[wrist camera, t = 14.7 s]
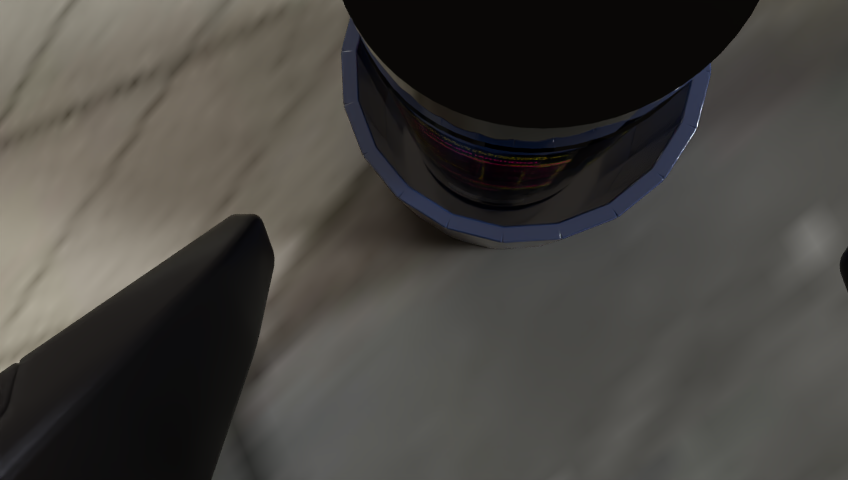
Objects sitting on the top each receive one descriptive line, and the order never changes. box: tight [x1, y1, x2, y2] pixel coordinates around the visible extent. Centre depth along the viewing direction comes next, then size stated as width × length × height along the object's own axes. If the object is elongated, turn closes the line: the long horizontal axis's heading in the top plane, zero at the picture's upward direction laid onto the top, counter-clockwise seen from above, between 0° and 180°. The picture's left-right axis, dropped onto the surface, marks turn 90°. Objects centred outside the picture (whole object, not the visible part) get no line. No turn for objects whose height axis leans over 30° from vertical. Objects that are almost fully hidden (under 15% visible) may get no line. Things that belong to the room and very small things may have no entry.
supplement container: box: [343, 0, 759, 206], centre depth 13 cm, size 7×7×10 cm
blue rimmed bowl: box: [341, 17, 711, 249], centre depth 16 cm, size 10×10×5 cm
